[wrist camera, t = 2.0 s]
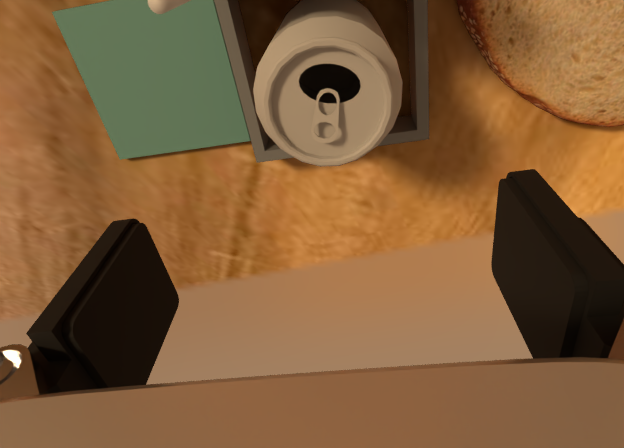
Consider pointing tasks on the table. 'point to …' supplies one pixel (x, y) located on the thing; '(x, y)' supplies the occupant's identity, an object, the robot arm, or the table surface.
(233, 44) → the grey open box
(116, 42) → the mat
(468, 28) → the slice of bread
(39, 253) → the table surface
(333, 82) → the can
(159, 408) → the robot arm
